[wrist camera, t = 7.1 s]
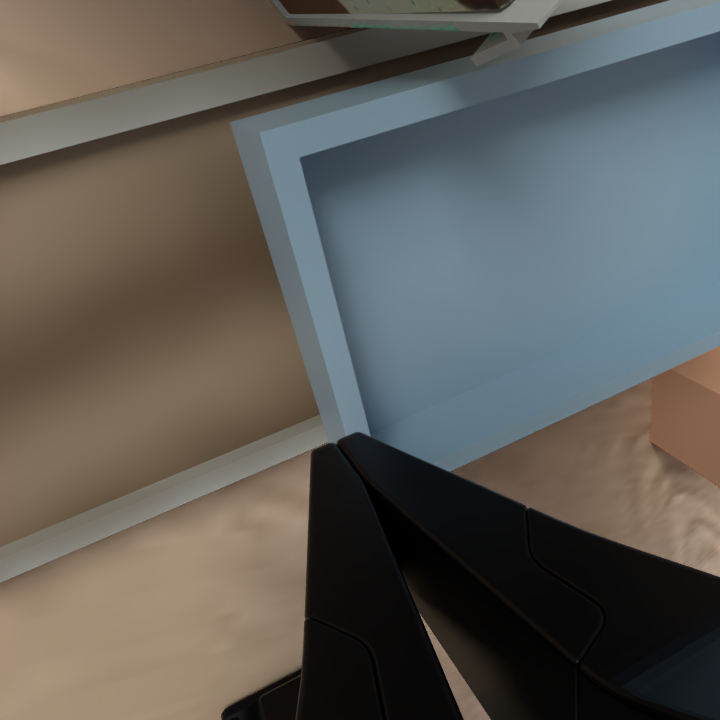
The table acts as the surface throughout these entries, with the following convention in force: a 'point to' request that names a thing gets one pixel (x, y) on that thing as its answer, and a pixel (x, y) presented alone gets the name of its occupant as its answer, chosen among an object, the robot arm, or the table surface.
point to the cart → (500, 231)
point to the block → (690, 414)
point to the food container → (429, 18)
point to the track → (161, 288)
